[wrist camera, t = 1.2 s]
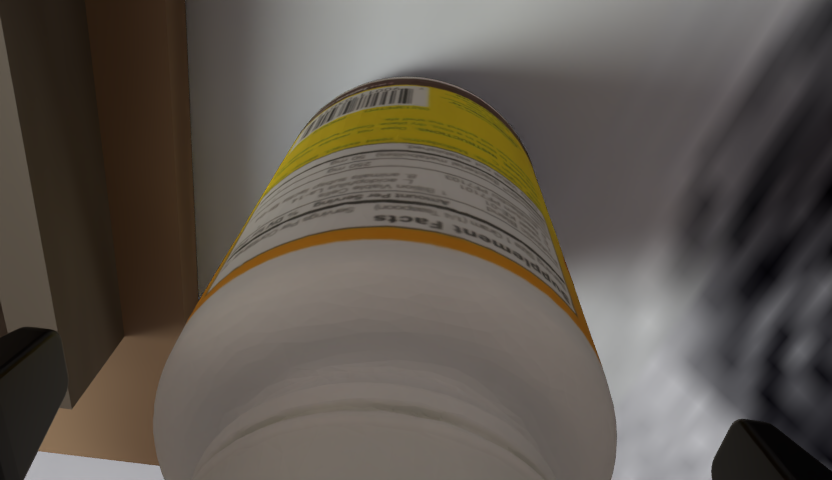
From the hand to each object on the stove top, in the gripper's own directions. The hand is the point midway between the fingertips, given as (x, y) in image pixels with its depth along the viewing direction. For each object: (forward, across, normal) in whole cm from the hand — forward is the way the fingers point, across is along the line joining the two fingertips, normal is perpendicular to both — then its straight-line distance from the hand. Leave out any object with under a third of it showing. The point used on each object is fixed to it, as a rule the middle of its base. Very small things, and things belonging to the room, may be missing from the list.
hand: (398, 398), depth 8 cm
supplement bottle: (+7, 0, 0) cm, 7 cm away
